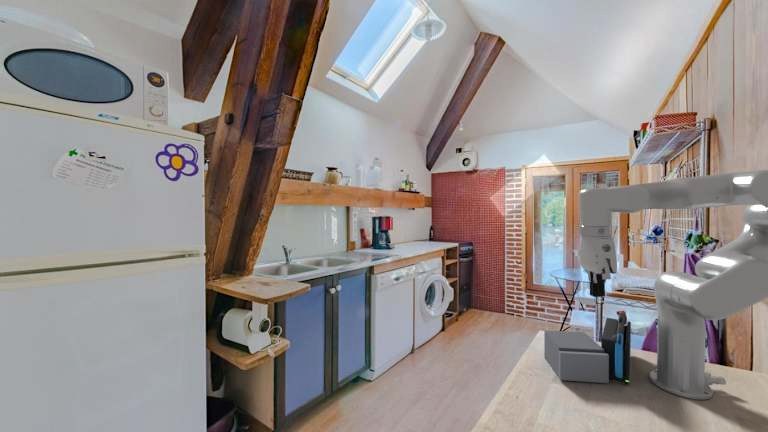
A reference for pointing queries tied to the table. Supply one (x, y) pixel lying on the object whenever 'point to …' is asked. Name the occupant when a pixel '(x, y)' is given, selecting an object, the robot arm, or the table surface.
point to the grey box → (566, 345)
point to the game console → (618, 347)
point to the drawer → (584, 366)
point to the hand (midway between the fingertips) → (597, 295)
